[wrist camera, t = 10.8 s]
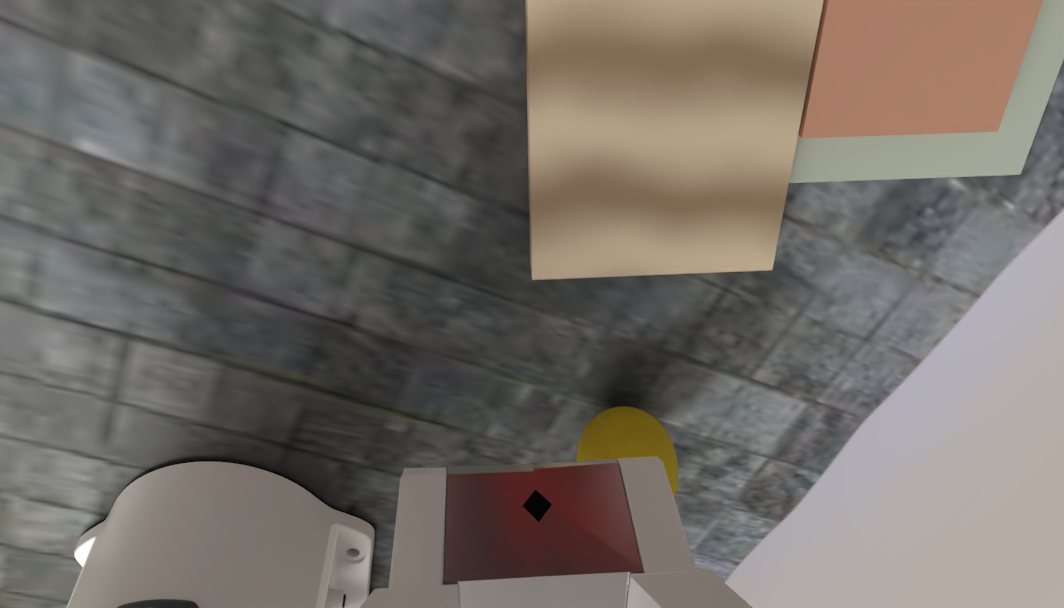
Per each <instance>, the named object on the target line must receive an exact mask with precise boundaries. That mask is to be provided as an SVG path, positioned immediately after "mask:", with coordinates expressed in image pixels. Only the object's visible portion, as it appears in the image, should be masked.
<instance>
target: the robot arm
mask: <svg viewBox="0 0 1064 608" xmlns="http://www.w3.org/2000/svg"><path fill="white" fill-rule="evenodd" d="M374 537H375V531H374V528H373V527H372V526H371V525H370V524H369V523H367V522H366V521H364V520H362V519H359V518H357V517H354V516H352V515H349V514H346V513H343V512H340V511H337V510H334V509H332V508H330V507H329V506H327V505H326V504H324V503H323V502H321V501H320V500H319V499H317V498H316V497H315V496H314V495H312V494H311V493H310V492H308V491H307V490H305V489H304V488H302V487H301V486H299V485H297V484H296V483H294V482H292V481H290V480H288V479H286V478H284V477H281V476H279V475H276V474H274V473H271V472H268V471H265V470H262V469H259V468H255V467H251V466H246V465H241V464H235V463H227V462H189V463H182V464H176V465H172V466H168V467H164V468H161V469H157V470H155V471H152V472H150V473H148V474H146V475H144V476H142V477H140V478H138V479H137V480H135V481H134V482H132V483H131V484H130V485H129V486H127V487H126V488H125V489H124V490H123V491H122V492H121V494H120V495H119V496H118V498H117V499H116V501H115V503H114V505H113V507H112V509H111V511H110V513H109V515H108V517H107V518H106V519H105V520H104V521H103V522H102V523H100V524H98V525H97V526H95V527H93V528H92V529H90V530H89V531H87V532H86V533H84V534H83V535H82V536H81V538H80V539H79V542H78V544H77V547H76V549H75V552H74V555H75V558H76V560H77V561H78V562H79V563H80V565H81V566H82V567H83V568H82V571H81V573H80V576H79V578H78V581H77V583H76V585H75V588H74V590H73V593H72V595H71V598H70V600H69V602H68V605H67V607H66V608H752V607H751V606H750V605H749V604H748V603H747V602H746V601H744V600H743V599H742V598H741V597H740V596H739V595H738V594H737V593H735V592H734V591H733V590H732V589H731V588H730V587H728V586H727V585H726V584H725V583H724V582H723V581H722V580H721V579H720V578H718V577H717V576H716V575H715V574H714V573H713V572H712V571H710V570H696V568H695V564H694V561H693V558H692V555H691V551H690V548H689V545H688V542H687V538H686V535H685V532H684V529H683V525H682V522H681V519H680V516H679V512H678V509H677V506H676V503H675V499H674V496H673V493H672V490H671V486H670V483H669V480H668V477H667V473H666V470H665V467H664V464H663V462H662V460H661V459H660V458H659V457H658V456H652V457H635V458H618V459H616V460H614V459H603V460H586V461H569V462H551V463H534V464H520V465H478V466H448V467H435V468H404V471H403V473H402V476H401V479H400V487H399V497H398V506H397V515H396V524H395V534H394V543H393V552H392V561H391V571H390V580H389V588H380V589H374V591H373V592H372V593H371V594H370V595H369V588H370V578H371V568H372V557H373V547H374Z"/></svg>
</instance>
